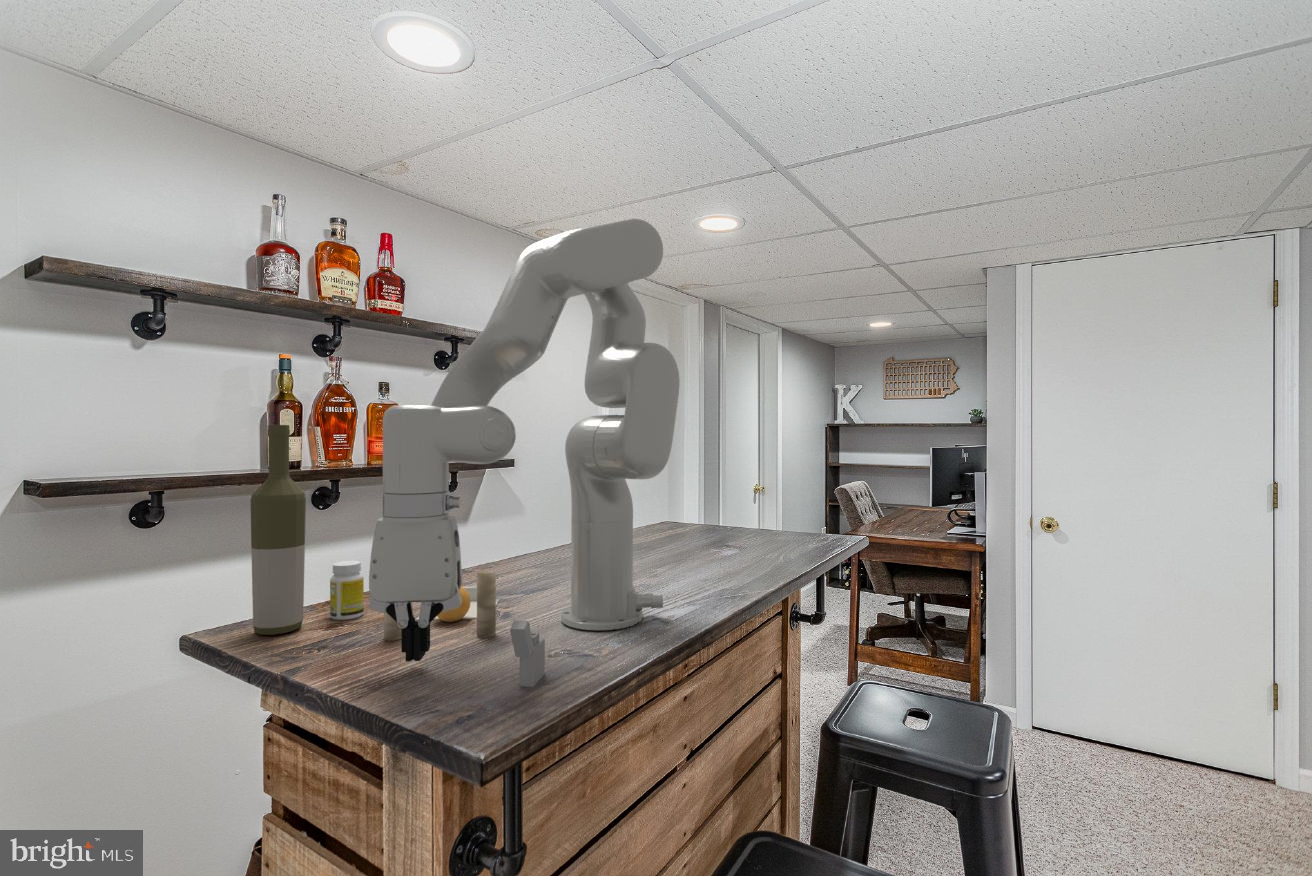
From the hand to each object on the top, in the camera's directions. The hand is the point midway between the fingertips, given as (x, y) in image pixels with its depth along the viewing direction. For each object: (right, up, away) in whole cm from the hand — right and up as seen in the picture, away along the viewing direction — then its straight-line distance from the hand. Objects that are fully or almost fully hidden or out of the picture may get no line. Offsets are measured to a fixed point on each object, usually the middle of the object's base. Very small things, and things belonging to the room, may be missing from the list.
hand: (415, 657), depth 78 cm
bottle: (-26, -2, +15) cm, 30 cm away
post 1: (-8, -2, +12) cm, 15 cm away
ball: (-2, +1, +20) cm, 21 cm away
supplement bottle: (-20, -2, +23) cm, 30 cm away
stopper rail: (-3, -1, +32) cm, 32 cm away
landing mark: (-3, -1, +27) cm, 27 cm away
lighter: (+15, -2, -5) cm, 15 cm away
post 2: (+5, -2, +14) cm, 15 cm away
